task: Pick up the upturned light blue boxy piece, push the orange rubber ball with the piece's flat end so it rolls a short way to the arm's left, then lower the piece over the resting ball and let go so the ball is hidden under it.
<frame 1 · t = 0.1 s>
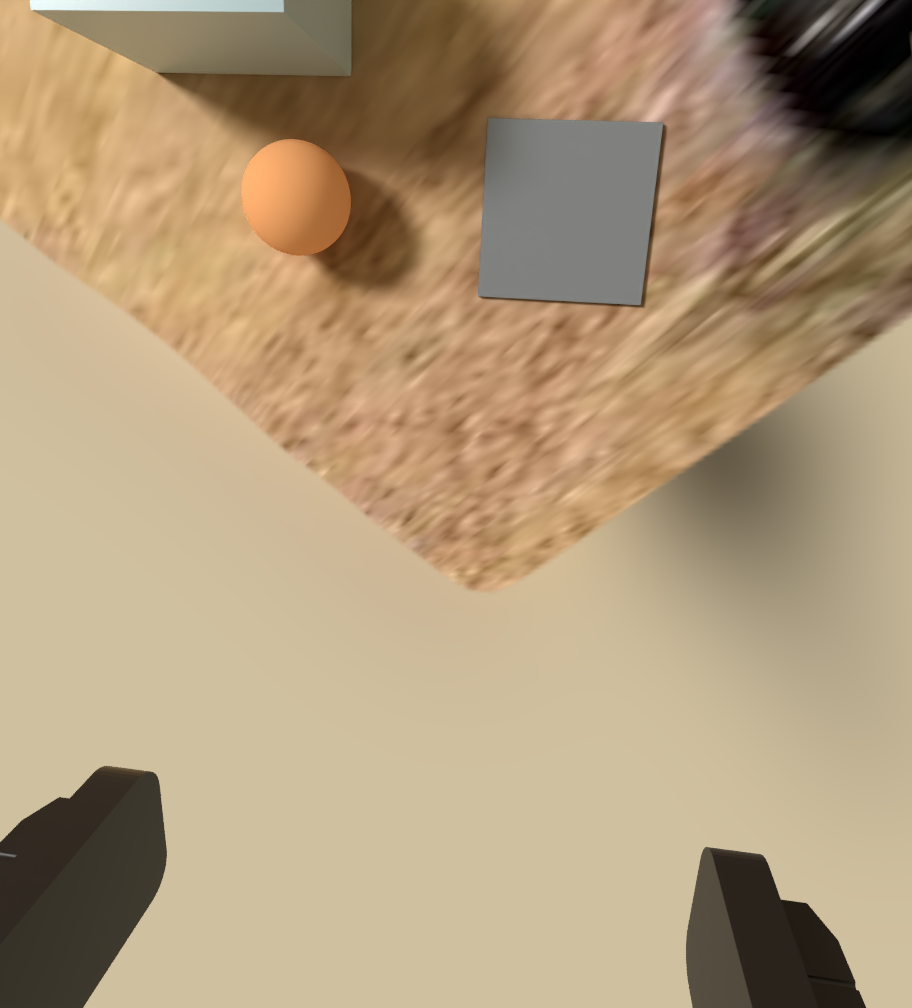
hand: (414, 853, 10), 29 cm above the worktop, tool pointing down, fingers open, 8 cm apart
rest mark: (565, 214, 34), on the worktop
ball: (297, 198, 33), on the worktop
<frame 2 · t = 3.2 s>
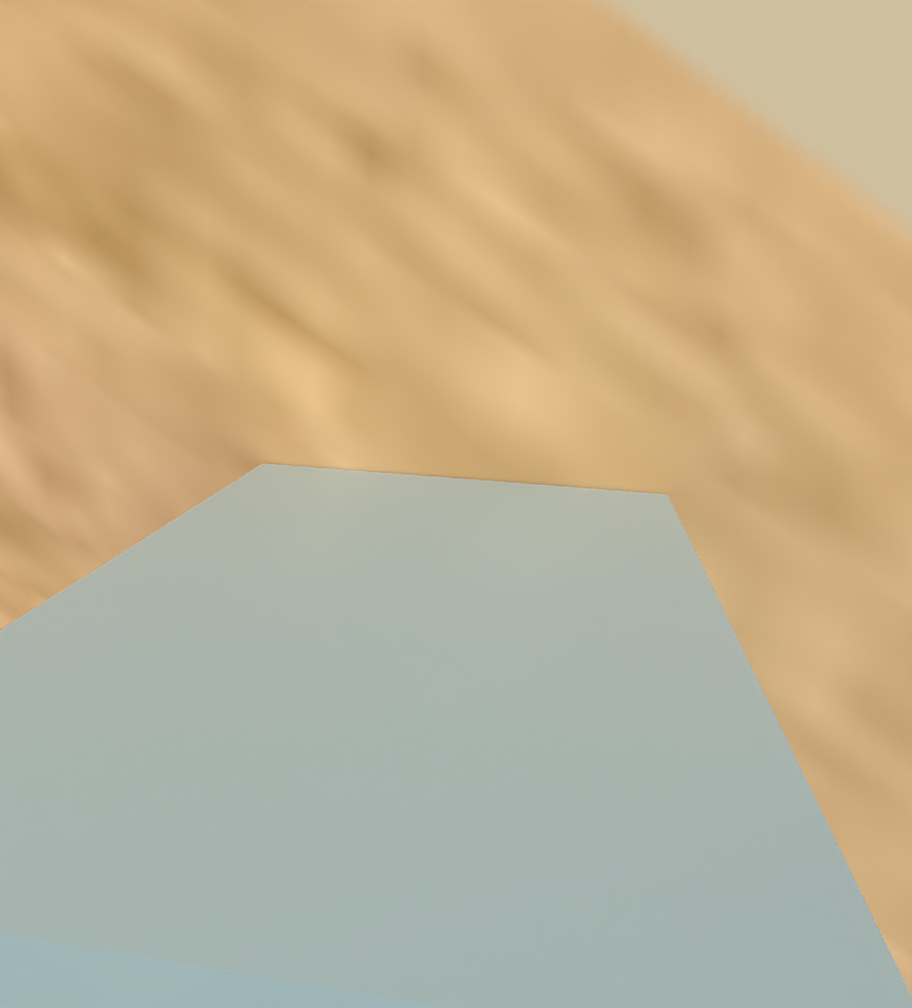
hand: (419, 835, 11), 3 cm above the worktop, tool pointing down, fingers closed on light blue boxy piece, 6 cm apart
light blue boxy piece: (447, 732, 13), on the worktop, touching gripper
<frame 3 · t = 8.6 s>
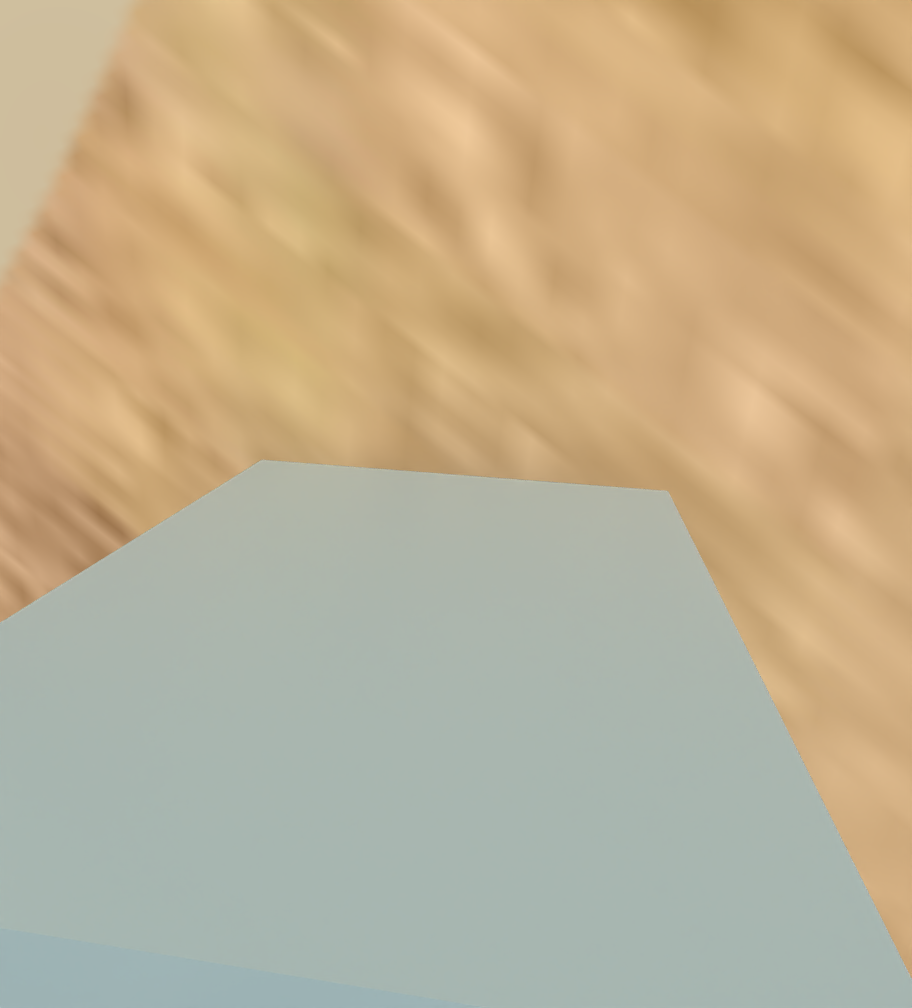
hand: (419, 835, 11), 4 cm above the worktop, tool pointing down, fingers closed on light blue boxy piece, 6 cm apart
light blue boxy piece: (446, 730, 13), point 1 cm above the worktop, touching gripper
when the fingers open (3 cm above the worktop, at t = 15.2 s): light blue boxy piece stays where it is, on the worktop.
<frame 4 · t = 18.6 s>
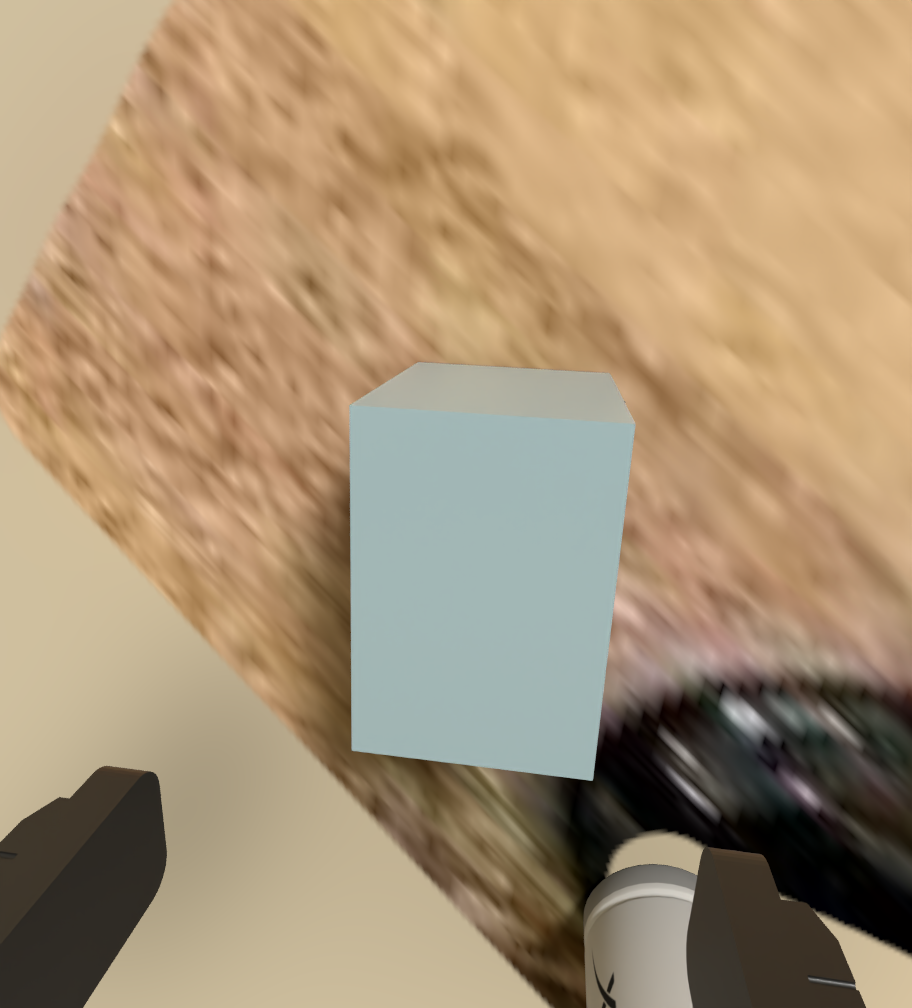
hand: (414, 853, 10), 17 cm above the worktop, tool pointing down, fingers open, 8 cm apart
light blue boxy piece: (504, 500, 27), on the worktop
travel mug: (658, 913, 32), on the worktop
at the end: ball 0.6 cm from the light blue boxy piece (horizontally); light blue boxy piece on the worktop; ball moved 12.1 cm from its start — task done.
